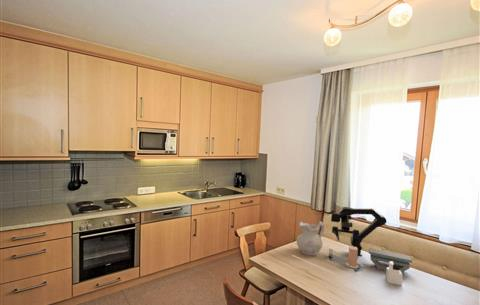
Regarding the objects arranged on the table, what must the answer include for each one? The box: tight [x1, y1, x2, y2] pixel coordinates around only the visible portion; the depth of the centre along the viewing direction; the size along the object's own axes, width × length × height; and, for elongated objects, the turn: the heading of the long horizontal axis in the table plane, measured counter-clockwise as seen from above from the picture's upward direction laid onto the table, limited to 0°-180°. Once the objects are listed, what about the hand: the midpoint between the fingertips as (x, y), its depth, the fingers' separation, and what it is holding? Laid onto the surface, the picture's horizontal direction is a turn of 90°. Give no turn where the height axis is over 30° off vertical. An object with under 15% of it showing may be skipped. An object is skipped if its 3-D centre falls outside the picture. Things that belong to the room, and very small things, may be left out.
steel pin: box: [328, 248, 334, 257], centre depth 184 cm, size 2×2×6 cm
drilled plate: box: [325, 254, 364, 273], centre depth 176 cm, size 11×23×1 cm, turn 42°
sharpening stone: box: [368, 247, 413, 274], centre depth 170 cm, size 25×8×11 cm, turn 63°
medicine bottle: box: [385, 261, 403, 286], centre depth 154 cm, size 7×7×12 cm
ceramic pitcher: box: [296, 220, 325, 256], centre depth 191 cm, size 22×20×25 cm
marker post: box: [347, 245, 358, 267], centre depth 172 cm, size 5×5×12 cm
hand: (345, 242), depth 181 cm, fingers open, 9 cm apart
